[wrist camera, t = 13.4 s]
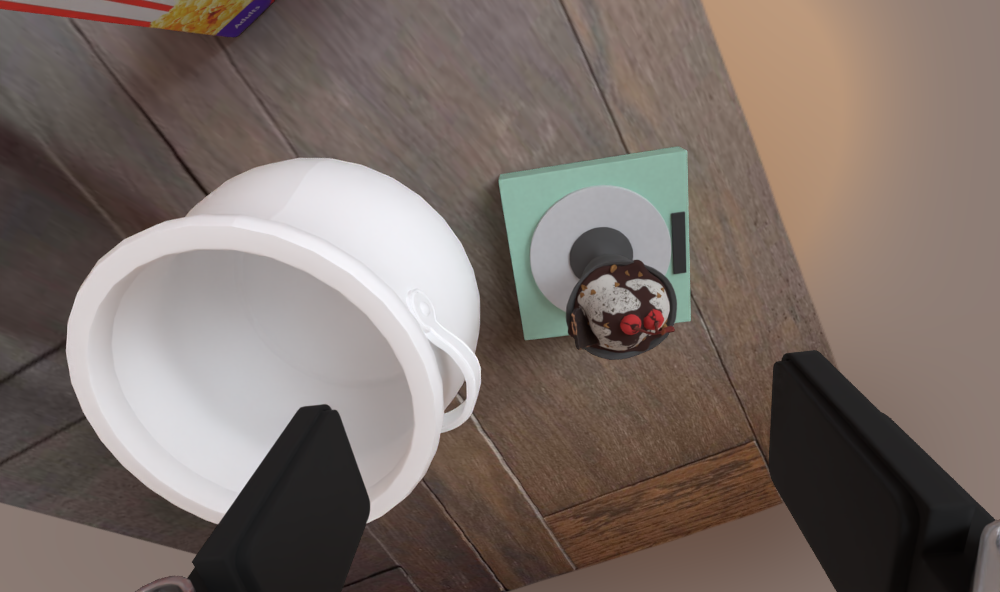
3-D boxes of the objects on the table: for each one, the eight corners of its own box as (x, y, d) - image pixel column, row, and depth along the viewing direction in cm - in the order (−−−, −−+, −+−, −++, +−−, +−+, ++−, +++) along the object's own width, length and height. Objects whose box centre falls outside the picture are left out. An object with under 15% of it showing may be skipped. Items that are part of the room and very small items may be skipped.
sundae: (658, 230, 39) (726, 316, 25) (623, 305, 42) (667, 420, 28) (577, 203, 38) (600, 275, 25) (547, 281, 41) (553, 385, 27)
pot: (224, 385, 51) (82, 528, 35) (188, 131, 41) (-34, 170, 25) (482, 416, 51) (458, 575, 35) (508, 168, 41) (492, 230, 25)
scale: (678, 146, 39) (689, 151, 36) (683, 309, 45) (692, 324, 42) (500, 174, 41) (497, 181, 38) (525, 328, 46) (524, 344, 44)
